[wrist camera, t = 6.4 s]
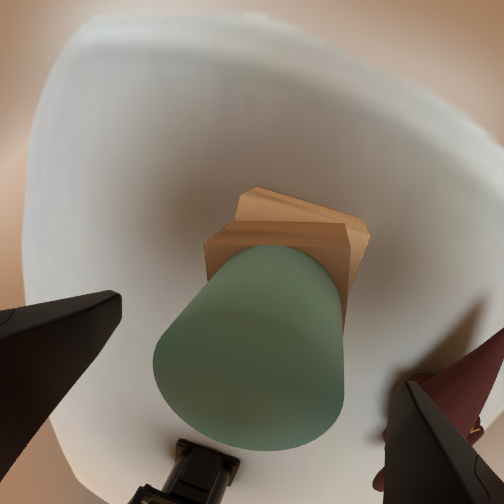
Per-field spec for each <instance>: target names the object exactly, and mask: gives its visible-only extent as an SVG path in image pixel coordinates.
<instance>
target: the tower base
mask: <svg viewBox="0 0 504 504" xmlns="http://www.w3.org/2000/svg"><path fill="white" fill-rule="evenodd" d="M234 221H270V222H321V223H345V226H346V230H347V234H348V238H349V242H350V246H351V253H350V269H349V282H348V293H349V291H350V288H351V286H352V283H353V281H354V278H355V276H356V273H357V271H358V268H359V266H360V263H361V261H362V258H363V255H364V253H365V250H366V247H367V245H368V242H369V239H370V237H371V236H370V234H369V232H368V230H367V228H366V225H365V223H364V221H363V220H362V219H359V218H356V217H353V216H350V215H347V214H344V213H341V212H338V211H335V210H332V209H329V208H326V207H323V206H319V205H316V204H313V203H310V202H307V201H303V200H300V199H297V198H293V197H290V196H287V195H283V194H280V193H277V192H273V191H270V190H266V189H263V188H259V187H254V188H253V189H251V190H249V191H247V192H246V193H244V194H242V195H240V198H239V202H238V207H237V211H236V215H235V219H234ZM347 295H348V294H347Z"/></svg>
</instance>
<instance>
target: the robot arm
mask: <svg viewBox="0 0 504 504" xmlns="http://www.w3.org/2000/svg"><path fill="white" fill-rule="evenodd" d="M121 318H122V297H121V295H120V294H119V293H117V292H114V291H112V290H106V291H101V292H96V293H91V294H86V295H81V296H76V297H70V298H65V299H60V300H55V301H50V302H45V303H39V304H34V305H29V306H23V307H18V308H16V309H15V308H13V309H7V310H2V311H0V482H1V480H2V479H3V477H4V476H5V475H6V473H7V472H8V471H9V469H10V467H11V466H12V465H13V464H14V462H15V461H16V459H17V458H18V457H19V455H20V454H21V453H22V451H23V450H24V449H25V447H26V446H27V444H28V443H29V441H30V440H31V439H32V437H33V436H34V435H35V434H36V432H37V431H38V430H39V428H40V427H41V426H42V424H43V423H44V422H45V420H46V419H47V418H48V417H49V415H50V414H51V413H52V412H53V410H54V409H55V408H56V406H57V405H58V404H59V403H60V401H61V400H62V399H63V398H64V396H65V395H66V394H67V393H68V391H69V390H70V389H71V388H72V386H73V385H74V384H75V383H76V381H77V380H78V379H79V378H80V377H81V375H82V374H83V373H84V372H85V370H86V369H87V368H88V367H89V366H90V364H91V363H92V362H93V361H94V360H95V358H96V357H97V356H98V354H99V353H100V352H101V350H102V349H103V347H104V346H105V344H106V342H107V341H108V339H109V338H110V336H111V335H112V333H113V332H114V331H115V329H116V328H117V326H118V325H119V323H120V321H121ZM239 465H240V461H239V460H237V459H235V458H231V457H228V456H225V455H222V454H219V453H216V452H213V451H210V450H207V449H205V448H202V447H199V446H196V445H194V444H191V443H188V442H186V441H183V440H178V442H177V443H176V459H175V465H174V467H173V469H172V471H171V473H170V475H169V477H168V479H167V481H166V482H165V484H164V486H163V488H162V490H161V491H160V490H157V489H155V488H153V487H151V485H149V484H147V483H146V485H145V486H144V487H142V486H139V488H138V490H137V491H136V493H135V495H134V496H133V498H132V499H131V500H130V501H129V503H128V504H220V503H221V501H222V498H223V495H224V493H225V490H226V487H227V486H231V483H232V481H233V479H234V477H235V474H236V472H237V470H238V468H239ZM383 504H504V482H503V481H502V480H501V479H500V478H499V477H498V476H497V475H496V474H495V473H494V472H493V471H492V469H491V468H490V467H489V466H488V465H487V464H486V463H485V461H484V460H483V459H482V458H481V457H480V455H479V454H477V452H476V451H475V449H474V448H473V447H472V446H471V445H470V444H469V442H468V441H467V440H466V439H465V438H464V436H463V435H462V434H461V433H460V432H459V431H458V429H457V428H456V427H455V426H454V425H453V424H452V423H451V421H450V420H449V419H448V418H447V417H446V416H445V414H444V413H443V412H442V411H441V410H440V409H439V408H438V406H437V405H436V404H435V403H434V402H433V401H432V400H431V399H430V397H429V396H428V395H427V394H426V393H425V392H424V391H423V389H422V388H421V387H420V386H419V385H418V384H417V383H416V382H412V381H407V380H406V381H403V382H402V383H401V385H400V386H399V388H398V389H397V391H396V392H395V394H394V395H393V397H392V398H391V400H390V403H389V412H388V423H387V433H386V442H385V474H384V496H383Z"/></svg>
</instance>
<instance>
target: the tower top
mask: <svg viewBox="0 0 504 504" xmlns="http://www.w3.org/2000/svg"><path fill="white" fill-rule="evenodd" d="M271 244H275V245H284V246H288V247H292V248H295V249H298V250H300V251H302V252H304V253H306V254H308V255H310V256H311V257H313V258H314V259H316V260H317V261H318V262H319V263H321V264H322V265H323V266H324V267H325V268H326V270H327V271H328V272H329V273H330V275H331V276H332V278H333V280H334V281H335V283H336V286H337V288H338V291H339V295H340V300H341V312H342V331H343V332H344V324H345V315H346V305H347V294H348V282H349V269H350V253H351V246H350V242H349V238H348V234H347V230H346V226H345V223H321V222H270V221H232V222H231V223H229V224H228V225H227V226H226V227H224V228H223V229H222V230H220V231H219V232H218V233H217V234H215V235H214V236H213V237H212V238H210V239H209V240H208V241H207V242H205V243H204V249H205V259H206V270H207V279H208V282H209V280H210V279H211V278H212V277H213V276H214V275H215V273H216V272H217V271H218V270H219V269H220V268H221V267H222V265H223V264H224V263H225V262H226V261H227V260H228V259H230V258H231V257H232V256H233V255H235V254H237V253H238V252H240V251H242V250H245V249H247V248H250V247H254V246H259V245H271Z"/></svg>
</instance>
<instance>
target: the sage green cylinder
mask: <svg viewBox="0 0 504 504" xmlns="http://www.w3.org/2000/svg"><path fill="white" fill-rule="evenodd" d="M153 371H154V376H155V380H156V383H157V386H158V388H159V390H160V392H161V394H162V396H163V397H164V399H165V401H166V402H167V403H168V405H169V406H170V407H171V408H172V410H173V411H174V412H175V413H176V414H177V415H178V416H179V417H180V418H181V419H182V420H184V421H185V422H186V423H187V424H188V425H190V426H191V427H193V428H194V429H196V430H197V431H199V432H200V433H202V434H204V435H206V436H208V437H210V438H212V439H214V440H216V441H219V442H221V443H224V444H227V445H230V446H234V447H237V448H242V449H248V450H256V451H278V450H285V449H290V448H295V447H298V446H301V445H304V444H307V443H309V442H311V441H313V440H315V439H316V438H318V437H319V436H321V435H322V434H324V433H325V432H326V431H327V430H328V429H329V428H330V427H331V426H332V425H333V424H334V422H335V421H336V420H337V418H338V416H339V414H340V412H341V409H342V406H343V401H344V356H343V331H342V312H341V300H340V295H339V291H338V288H337V286H336V283H335V281H334V280H333V278H332V276H331V275H330V273H329V272H328V271H327V270H326V268H325V267H324V266H323V265H322V264H321V263H319V262H318V261H317V260H316V259H314V258H313V257H311V256H310V255H308V254H306V253H304V252H302V251H300V250H298V249H295V248H292V247H288V246H284V245H275V244H271V245H259V246H254V247H250V248H247V249H245V250H242V251H240V252H238V253H237V254H235V255H233V256H232V257H231V258H230V259H228V260H227V261H226V262H225V263H224V264H223V265H222V267H221V268H220V269H219V270H218V271H217V272H216V273H215V275H214V276H213V277H212V278H211V279H210V280H209V282H208V283H207V284H206V285H205V286H204V287H203V288H202V290H201V291H200V292H199V293H198V294H197V295H196V297H195V298H194V299H193V300H192V301H191V302H190V303H189V305H188V306H187V307H186V308H185V309H184V310H183V312H182V313H181V314H180V315H179V316H178V317H177V319H176V320H175V321H174V322H173V323H172V324H171V326H170V327H169V328H168V329H167V330H166V331H165V333H164V334H163V335H162V336H161V338H160V339H159V341H158V343H157V345H156V348H155V351H154V356H153Z"/></svg>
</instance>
